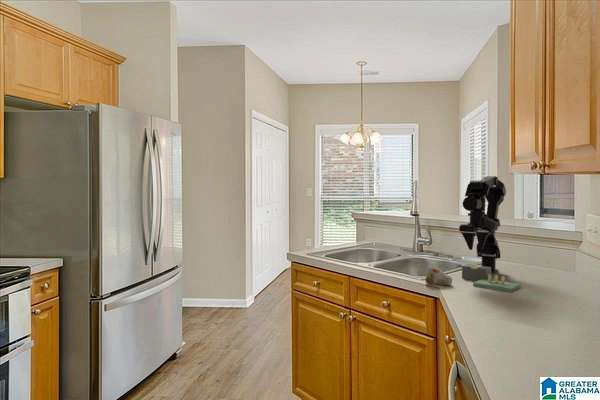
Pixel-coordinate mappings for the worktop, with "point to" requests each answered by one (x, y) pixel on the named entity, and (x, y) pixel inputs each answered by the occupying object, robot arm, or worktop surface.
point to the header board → (496, 284)
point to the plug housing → (475, 272)
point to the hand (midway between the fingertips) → (476, 249)
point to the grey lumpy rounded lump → (437, 277)
